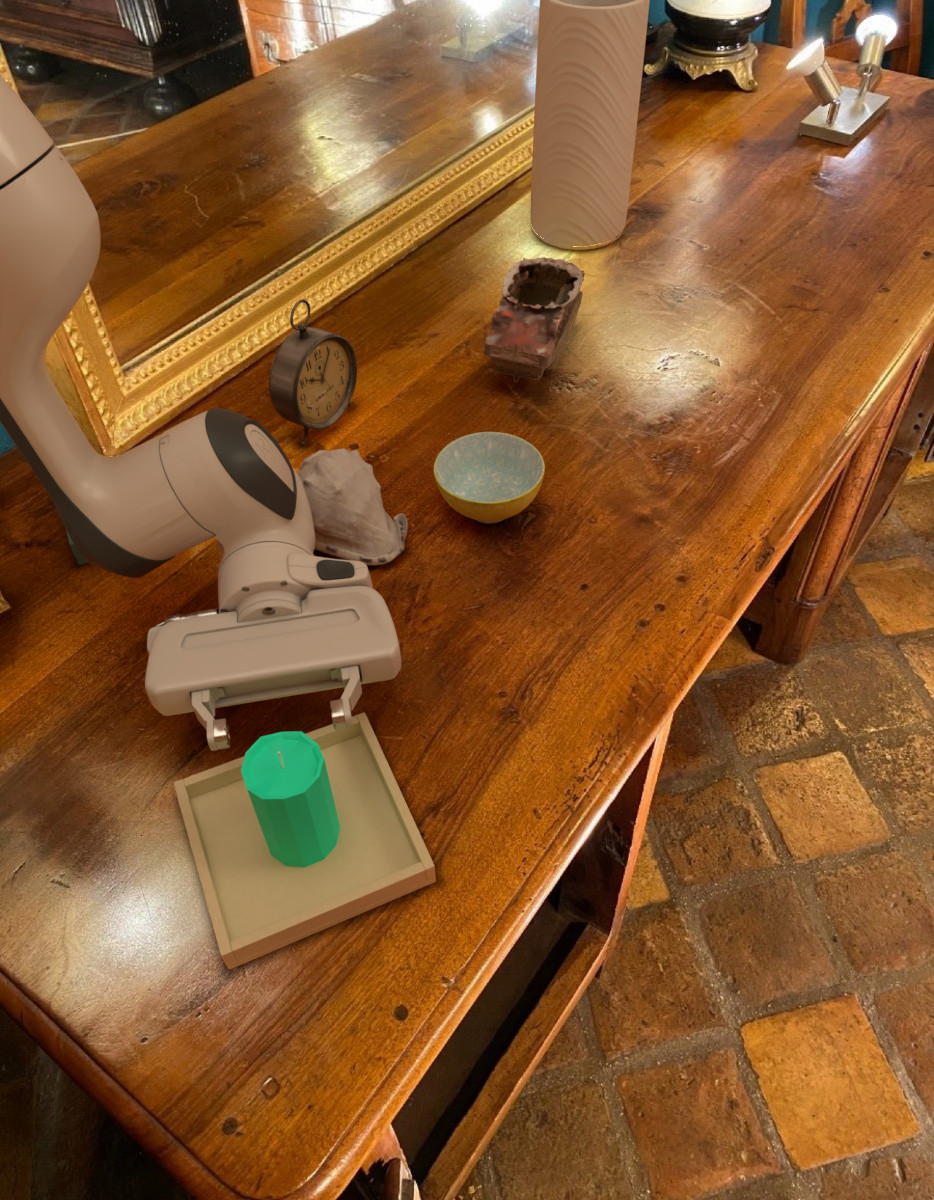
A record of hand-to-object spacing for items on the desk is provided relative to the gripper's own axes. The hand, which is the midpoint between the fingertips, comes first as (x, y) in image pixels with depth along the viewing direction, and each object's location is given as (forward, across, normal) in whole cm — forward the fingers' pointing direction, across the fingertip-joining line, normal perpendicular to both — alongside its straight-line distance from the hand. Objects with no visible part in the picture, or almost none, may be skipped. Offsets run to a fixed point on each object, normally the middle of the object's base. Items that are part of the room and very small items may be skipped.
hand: (281, 735), depth 72 cm
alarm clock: (-50, +6, +9) cm, 51 cm away
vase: (-88, +48, +9) cm, 101 cm away
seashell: (-32, +8, +9) cm, 34 cm away
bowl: (-31, +23, +9) cm, 40 cm away
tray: (+4, 0, +9) cm, 10 cm away
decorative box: (-56, +35, +9) cm, 67 cm away
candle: (+4, 0, +9) cm, 9 cm away
